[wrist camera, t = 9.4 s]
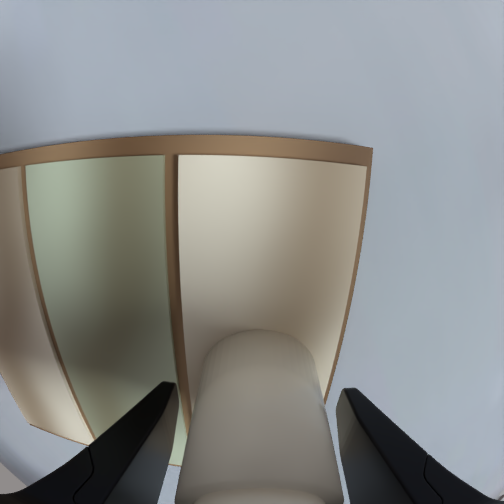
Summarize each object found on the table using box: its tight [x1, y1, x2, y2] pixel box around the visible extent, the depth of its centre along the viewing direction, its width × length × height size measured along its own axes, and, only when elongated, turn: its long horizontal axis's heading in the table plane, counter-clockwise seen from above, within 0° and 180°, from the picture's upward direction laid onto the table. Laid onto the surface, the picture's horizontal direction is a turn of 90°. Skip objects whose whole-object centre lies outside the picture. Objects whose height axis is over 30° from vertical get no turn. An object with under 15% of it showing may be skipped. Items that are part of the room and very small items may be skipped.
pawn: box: [174, 330, 344, 504], centre depth 6 cm, size 4×4×7 cm
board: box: [0, 135, 373, 467], centre depth 10 cm, size 15×14×1 cm
